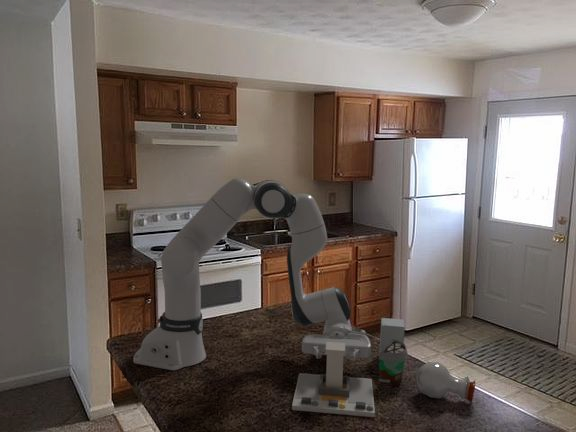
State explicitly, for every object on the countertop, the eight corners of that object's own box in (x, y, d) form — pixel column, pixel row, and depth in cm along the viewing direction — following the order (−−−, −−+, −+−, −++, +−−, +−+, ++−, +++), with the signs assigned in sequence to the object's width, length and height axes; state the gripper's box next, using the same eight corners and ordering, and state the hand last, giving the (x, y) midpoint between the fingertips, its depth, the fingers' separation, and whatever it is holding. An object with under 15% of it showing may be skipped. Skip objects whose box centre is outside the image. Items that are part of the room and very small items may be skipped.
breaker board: (291, 409, 120) (292, 398, 120) (299, 377, 138) (299, 366, 137) (374, 417, 118) (375, 405, 117) (371, 382, 135) (371, 372, 135)
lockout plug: (324, 392, 127) (325, 349, 125) (325, 383, 132) (326, 341, 130) (343, 393, 126) (345, 350, 125) (343, 384, 131) (345, 343, 130)
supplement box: (403, 365, 147) (405, 327, 145) (378, 363, 148) (380, 325, 147) (402, 356, 154) (404, 319, 152) (379, 353, 155) (380, 317, 154)
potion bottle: (412, 393, 132) (468, 412, 127) (412, 388, 124) (471, 407, 118) (420, 361, 136) (475, 378, 130) (420, 354, 128) (478, 371, 122)
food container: (398, 391, 130) (400, 357, 129) (377, 385, 134) (378, 352, 132) (411, 374, 141) (413, 343, 140) (392, 369, 144) (393, 338, 143)
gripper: (303, 326, 145) (298, 343, 132) (370, 330, 143) (372, 349, 129) (303, 345, 146) (298, 365, 132) (369, 350, 143) (371, 370, 130)
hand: (335, 357), depth 131 cm, fingers open, 8 cm apart
